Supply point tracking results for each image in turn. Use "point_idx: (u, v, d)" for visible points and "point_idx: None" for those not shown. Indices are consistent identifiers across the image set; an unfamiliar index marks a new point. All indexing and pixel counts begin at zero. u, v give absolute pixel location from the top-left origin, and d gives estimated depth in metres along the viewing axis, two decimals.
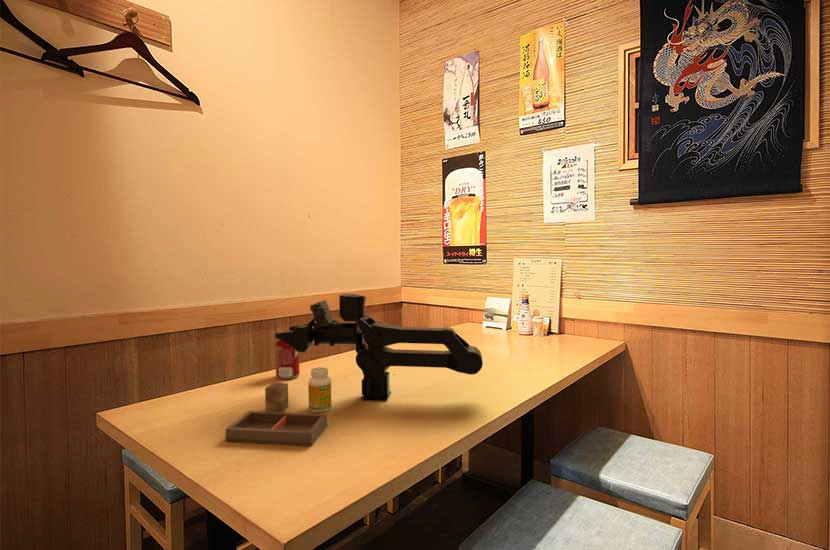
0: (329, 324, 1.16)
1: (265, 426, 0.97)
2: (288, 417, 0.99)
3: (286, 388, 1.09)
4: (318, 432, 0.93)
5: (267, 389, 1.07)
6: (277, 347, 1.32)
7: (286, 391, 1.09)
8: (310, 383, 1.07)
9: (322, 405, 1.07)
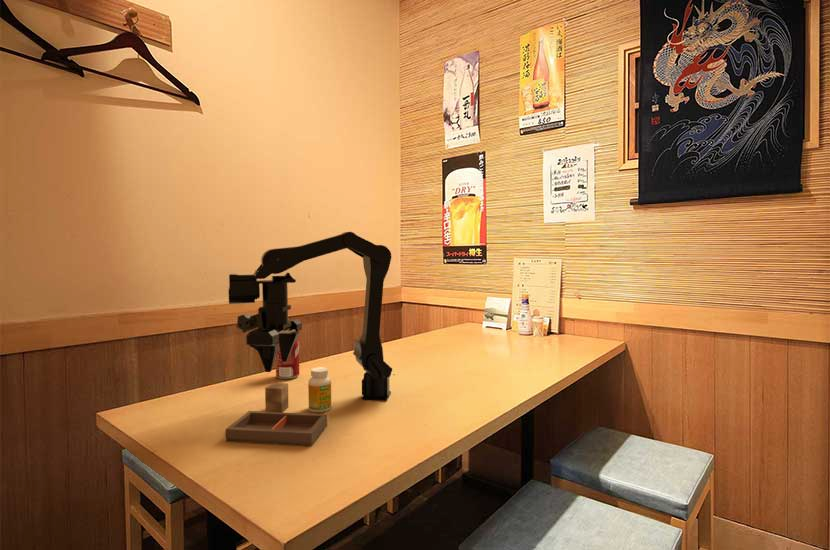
0: (259, 311, 1.05)
1: (265, 426, 0.97)
2: (288, 417, 0.99)
3: (286, 388, 1.09)
4: (318, 432, 0.93)
5: (267, 389, 1.07)
6: None
7: (286, 391, 1.09)
8: (310, 383, 1.07)
9: (322, 405, 1.07)
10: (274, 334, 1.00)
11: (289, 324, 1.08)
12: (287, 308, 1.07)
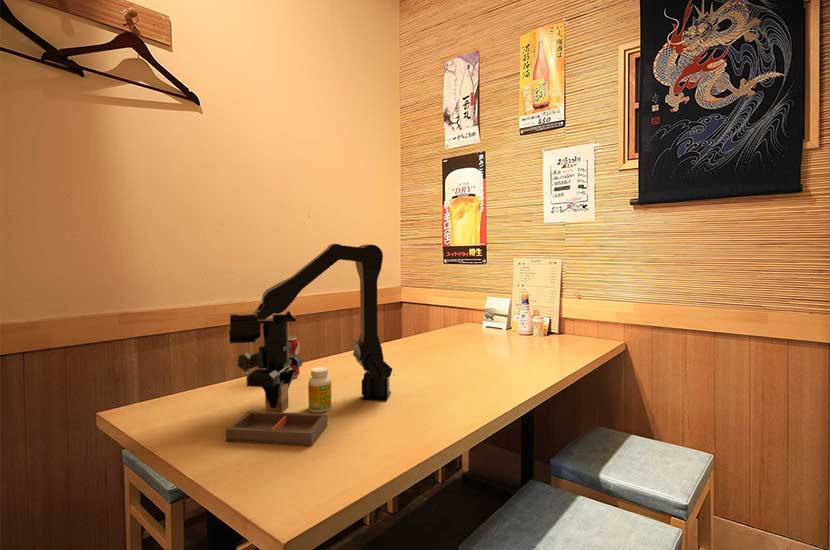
0: (260, 350, 1.06)
1: (265, 426, 0.97)
2: (288, 417, 0.99)
3: (286, 387, 1.09)
4: (318, 432, 0.93)
5: None
6: None
7: (286, 391, 1.09)
8: (310, 383, 1.07)
9: (322, 405, 1.07)
10: (275, 375, 1.00)
11: (289, 362, 1.09)
12: (287, 347, 1.08)
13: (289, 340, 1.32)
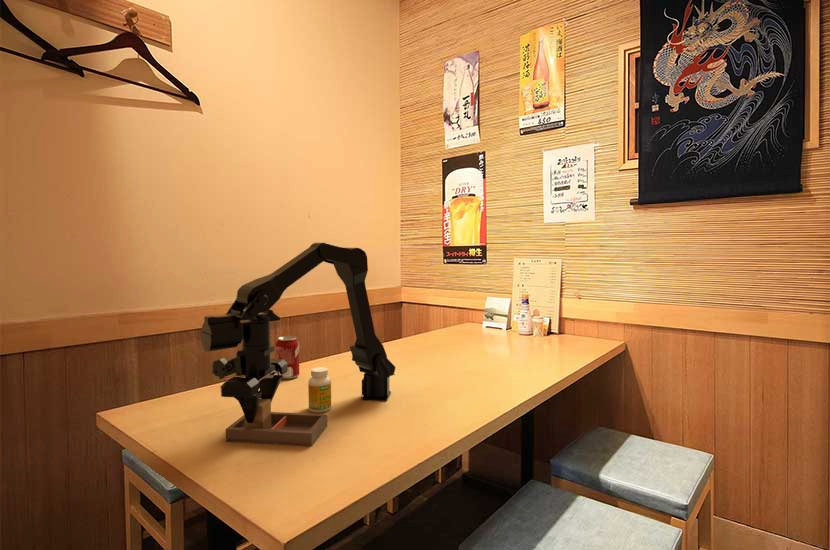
0: (238, 355, 0.93)
1: None
2: (288, 417, 0.99)
3: (268, 404, 0.96)
4: (318, 432, 0.93)
5: None
6: (277, 347, 1.32)
7: (268, 408, 0.96)
8: (310, 383, 1.07)
9: (322, 405, 1.07)
10: (253, 384, 0.87)
11: (272, 368, 0.96)
12: (270, 351, 0.95)
13: (289, 340, 1.32)
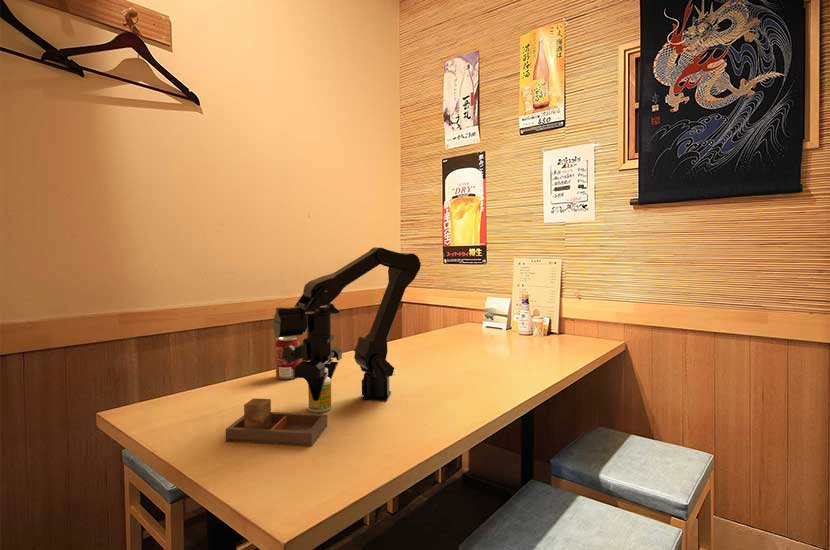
0: (304, 343, 1.06)
1: None
2: (288, 417, 0.99)
3: (268, 404, 0.96)
4: (318, 432, 0.93)
5: (246, 406, 0.94)
6: (277, 347, 1.32)
7: (268, 408, 0.96)
8: None
9: (322, 405, 1.07)
10: (321, 367, 1.01)
11: (332, 354, 1.10)
12: (331, 339, 1.08)
13: (289, 340, 1.32)
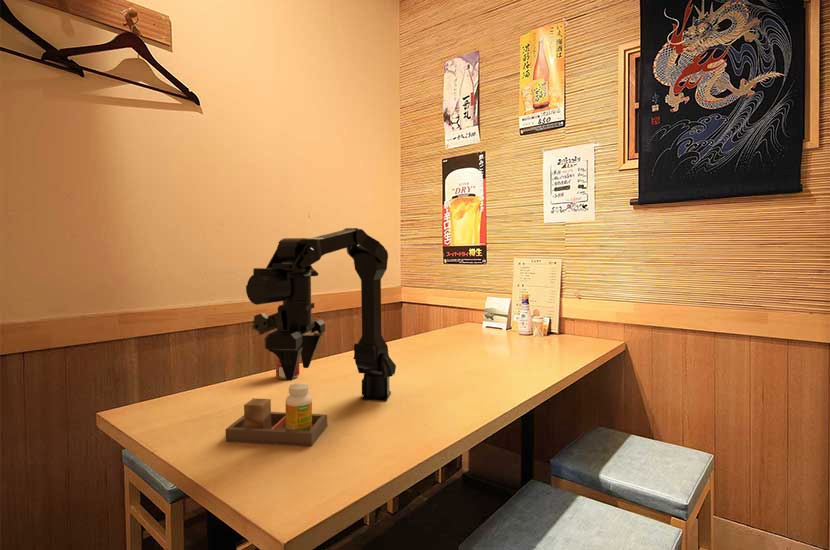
0: (279, 310, 0.91)
1: None
2: None
3: (268, 404, 0.96)
4: (318, 432, 0.93)
5: (246, 406, 0.94)
6: None
7: (268, 408, 0.96)
8: (287, 402, 0.92)
9: (300, 428, 0.92)
10: (297, 337, 0.86)
11: (312, 325, 0.94)
12: (310, 306, 0.93)
13: None
